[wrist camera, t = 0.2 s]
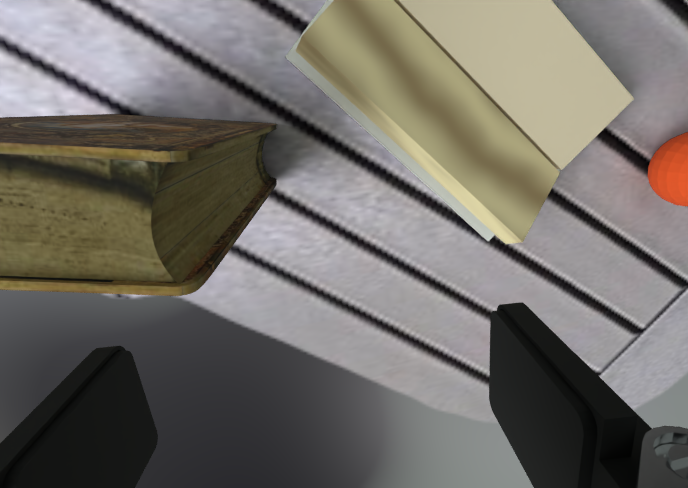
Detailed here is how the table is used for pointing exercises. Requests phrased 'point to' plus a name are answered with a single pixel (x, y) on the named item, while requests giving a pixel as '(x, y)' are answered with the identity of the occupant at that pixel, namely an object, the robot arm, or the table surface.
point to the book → (125, 200)
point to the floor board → (508, 77)
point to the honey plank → (431, 111)
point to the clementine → (671, 170)
